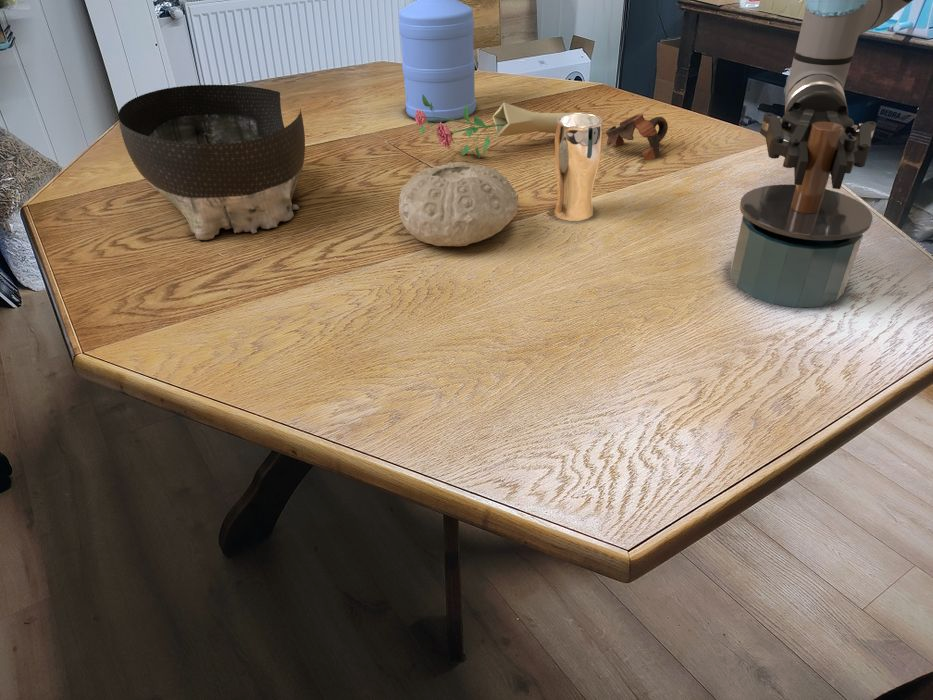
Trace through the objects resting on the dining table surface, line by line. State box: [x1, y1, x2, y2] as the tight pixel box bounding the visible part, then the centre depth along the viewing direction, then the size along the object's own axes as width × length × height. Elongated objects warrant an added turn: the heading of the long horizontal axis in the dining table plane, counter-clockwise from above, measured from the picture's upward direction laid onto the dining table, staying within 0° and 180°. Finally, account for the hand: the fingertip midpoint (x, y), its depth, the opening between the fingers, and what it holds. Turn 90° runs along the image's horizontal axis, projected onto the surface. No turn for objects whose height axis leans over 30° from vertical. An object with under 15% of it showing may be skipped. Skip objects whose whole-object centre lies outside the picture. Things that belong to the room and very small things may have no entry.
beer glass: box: [553, 112, 603, 222], centre depth 103 cm, size 7×7×15 cm
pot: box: [729, 214, 864, 309], centre depth 87 cm, size 14×14×8 cm
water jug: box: [398, 0, 477, 123], centre depth 145 cm, size 16×16×28 cm
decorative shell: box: [398, 161, 519, 247], centre depth 101 cm, size 18×18×10 cm
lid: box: [739, 122, 874, 240], centre depth 80 cm, size 15×15×11 cm
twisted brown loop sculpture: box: [605, 113, 669, 162], centre depth 127 cm, size 12×10×8 cm
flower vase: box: [415, 95, 585, 159], centre depth 129 cm, size 12×12×35 cm
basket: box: [117, 84, 306, 241], centre depth 112 cm, size 28×35×16 cm
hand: (820, 175), depth 75 cm, fingers closed on lid, 3 cm apart
